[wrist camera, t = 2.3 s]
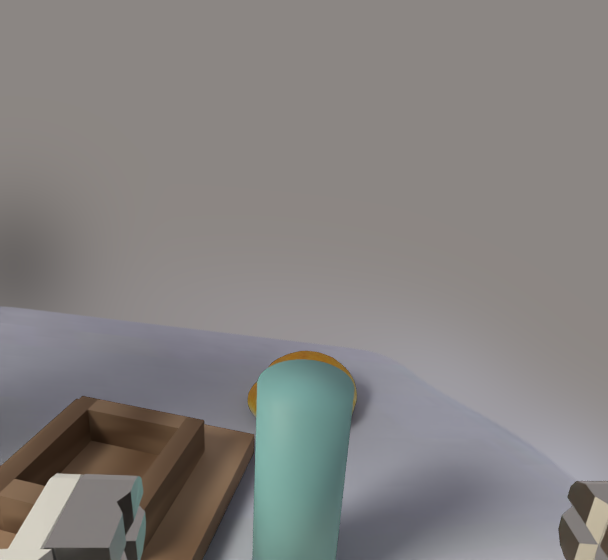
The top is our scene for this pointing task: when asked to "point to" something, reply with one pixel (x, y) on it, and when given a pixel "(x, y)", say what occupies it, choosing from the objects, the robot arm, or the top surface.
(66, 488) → the robot arm
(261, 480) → the teal post
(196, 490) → the walnut base
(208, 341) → the top surface
